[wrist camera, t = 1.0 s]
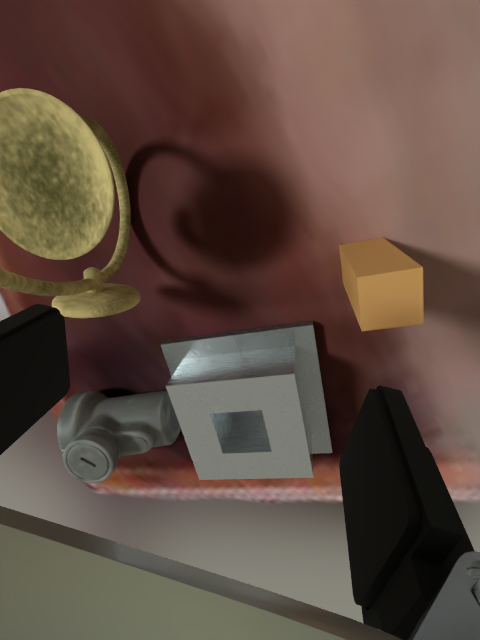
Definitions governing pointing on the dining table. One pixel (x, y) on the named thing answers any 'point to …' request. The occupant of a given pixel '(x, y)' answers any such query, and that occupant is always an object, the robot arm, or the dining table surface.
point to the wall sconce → (61, 199)
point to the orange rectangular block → (382, 284)
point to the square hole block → (250, 401)
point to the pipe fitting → (112, 430)
